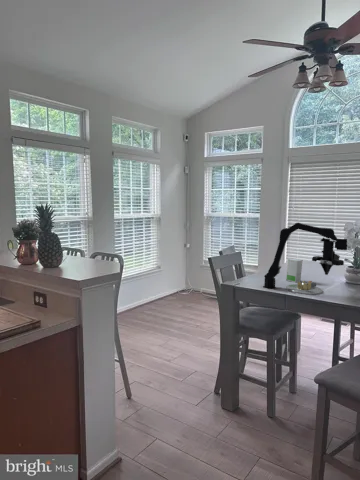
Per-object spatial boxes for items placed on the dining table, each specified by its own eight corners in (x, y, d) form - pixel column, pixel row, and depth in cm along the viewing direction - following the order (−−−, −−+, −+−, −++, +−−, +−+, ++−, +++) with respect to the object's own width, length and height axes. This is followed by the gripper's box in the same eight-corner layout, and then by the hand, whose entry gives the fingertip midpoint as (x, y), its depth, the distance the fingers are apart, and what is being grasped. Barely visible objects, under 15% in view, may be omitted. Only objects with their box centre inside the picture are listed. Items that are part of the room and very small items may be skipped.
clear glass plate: (305, 295, 210) (305, 288, 209) (278, 287, 229) (278, 281, 228) (330, 292, 220) (330, 285, 220) (302, 284, 239) (303, 278, 239)
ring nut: (305, 290, 219) (305, 284, 219) (294, 287, 226) (295, 281, 225) (320, 287, 227) (320, 281, 227) (309, 284, 234) (310, 279, 233)
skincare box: (285, 280, 252) (286, 258, 250) (291, 279, 256) (292, 258, 254) (296, 282, 245) (297, 260, 243) (301, 281, 249) (302, 259, 248)
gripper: (350, 250, 208) (348, 276, 210) (324, 246, 224) (322, 271, 226) (338, 251, 203) (336, 278, 204) (312, 247, 219) (310, 272, 221)
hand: (326, 274), depth 214 cm, fingers closed
